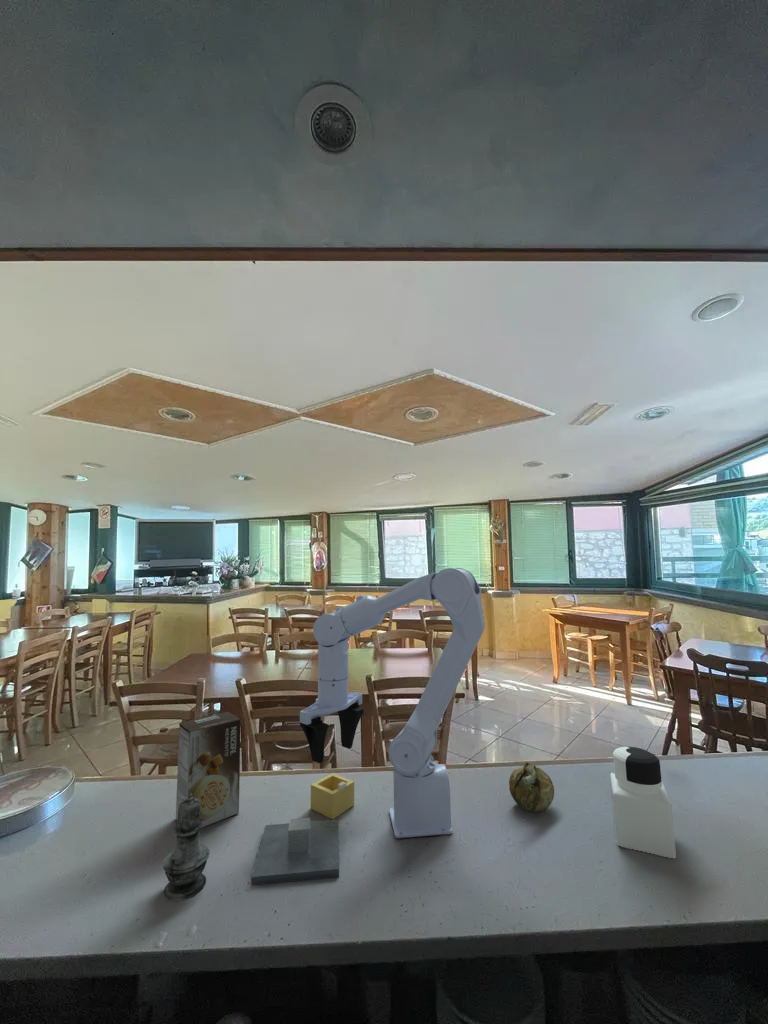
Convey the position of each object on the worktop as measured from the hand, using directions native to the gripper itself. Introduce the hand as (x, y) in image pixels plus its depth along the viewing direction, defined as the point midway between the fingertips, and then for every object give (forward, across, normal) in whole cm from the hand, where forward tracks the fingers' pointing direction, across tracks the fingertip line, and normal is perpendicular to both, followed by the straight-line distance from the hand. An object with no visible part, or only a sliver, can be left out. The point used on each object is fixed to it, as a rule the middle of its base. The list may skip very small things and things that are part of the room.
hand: (332, 753), depth 78 cm
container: (+9, -23, +46) cm, 52 cm away
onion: (+9, -22, +29) cm, 37 cm away
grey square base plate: (+9, +12, +5) cm, 16 cm away
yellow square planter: (+9, 0, 0) cm, 9 cm away
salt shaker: (+9, +26, -2) cm, 28 cm away
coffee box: (+9, +16, -16) cm, 24 cm away
